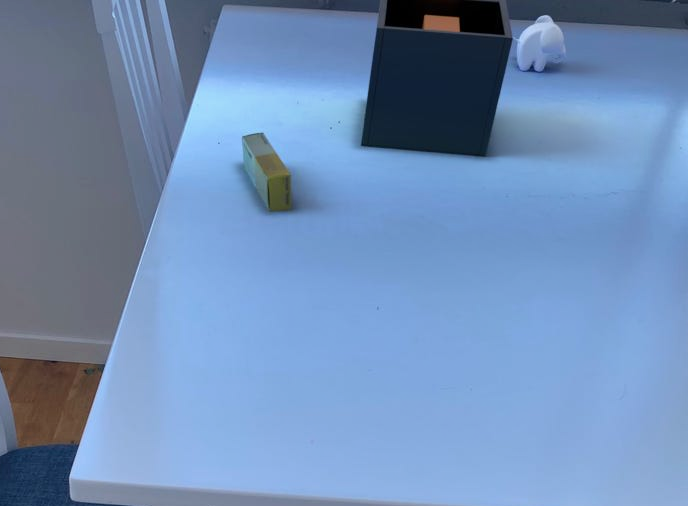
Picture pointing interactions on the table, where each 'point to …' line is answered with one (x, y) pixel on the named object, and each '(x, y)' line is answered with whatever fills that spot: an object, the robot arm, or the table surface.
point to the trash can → (436, 76)
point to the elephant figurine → (540, 44)
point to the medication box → (267, 172)
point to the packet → (441, 23)
